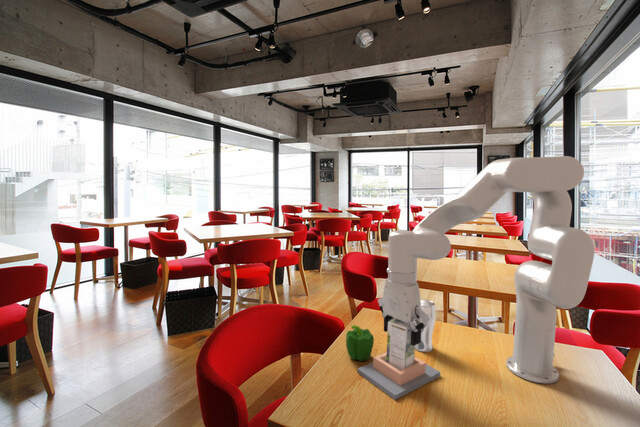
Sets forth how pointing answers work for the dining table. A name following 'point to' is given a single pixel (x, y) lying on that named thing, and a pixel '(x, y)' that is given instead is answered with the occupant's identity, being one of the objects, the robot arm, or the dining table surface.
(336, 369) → the dining table surface
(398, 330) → the syrup box
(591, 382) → the dining table surface
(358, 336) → the bell pepper
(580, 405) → the dining table surface
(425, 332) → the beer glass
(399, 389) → the socket board
